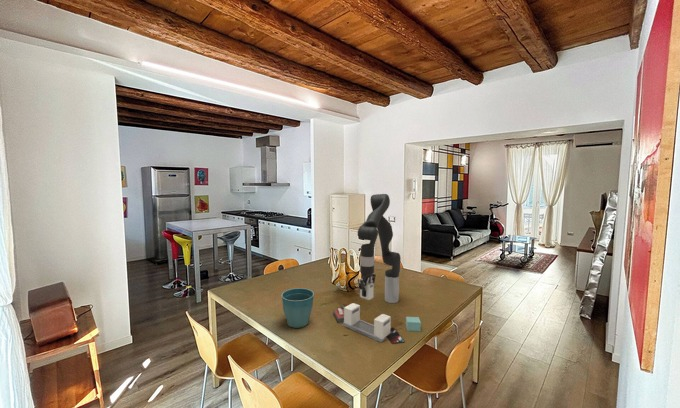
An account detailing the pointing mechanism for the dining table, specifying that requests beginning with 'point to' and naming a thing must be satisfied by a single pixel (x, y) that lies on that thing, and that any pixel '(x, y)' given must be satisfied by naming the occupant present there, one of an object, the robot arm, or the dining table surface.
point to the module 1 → (351, 314)
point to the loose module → (368, 291)
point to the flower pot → (297, 306)
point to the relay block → (413, 324)
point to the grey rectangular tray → (365, 329)
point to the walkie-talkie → (339, 314)
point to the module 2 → (382, 326)
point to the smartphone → (395, 337)
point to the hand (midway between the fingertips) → (366, 295)
